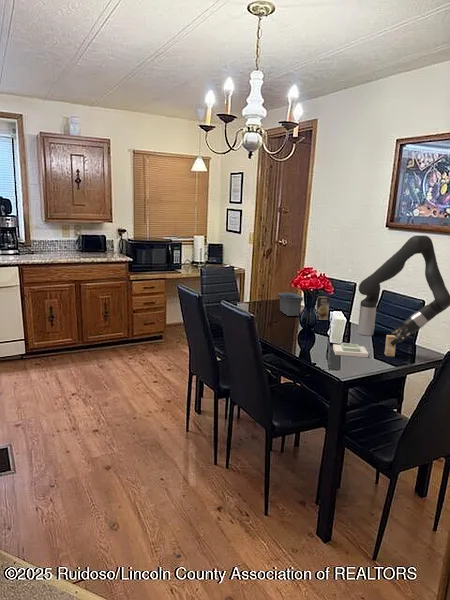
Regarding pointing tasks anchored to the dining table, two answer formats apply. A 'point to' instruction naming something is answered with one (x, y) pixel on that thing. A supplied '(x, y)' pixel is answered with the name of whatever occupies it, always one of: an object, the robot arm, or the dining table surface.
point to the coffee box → (322, 307)
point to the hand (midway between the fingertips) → (389, 342)
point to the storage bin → (290, 303)
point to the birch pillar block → (390, 346)
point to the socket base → (350, 350)
